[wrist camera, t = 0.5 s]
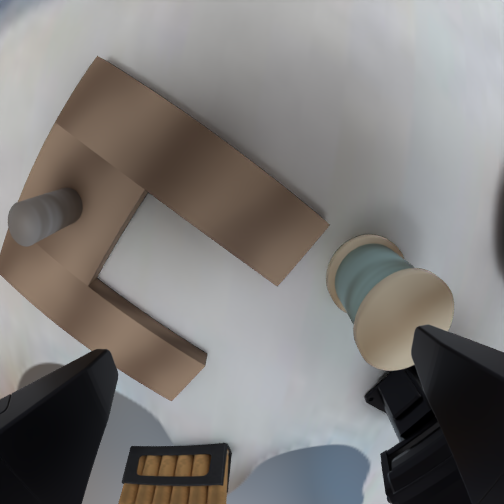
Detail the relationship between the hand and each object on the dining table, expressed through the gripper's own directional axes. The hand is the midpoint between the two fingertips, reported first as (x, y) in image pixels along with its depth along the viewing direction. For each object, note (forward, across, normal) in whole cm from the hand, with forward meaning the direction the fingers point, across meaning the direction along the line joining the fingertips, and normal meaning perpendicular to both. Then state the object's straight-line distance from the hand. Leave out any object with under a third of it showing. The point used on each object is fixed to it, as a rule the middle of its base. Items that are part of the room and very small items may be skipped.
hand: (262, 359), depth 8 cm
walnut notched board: (+12, +8, 0) cm, 15 cm away
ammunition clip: (+13, +10, +22) cm, 27 cm away
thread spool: (+13, -7, +3) cm, 15 cm away
